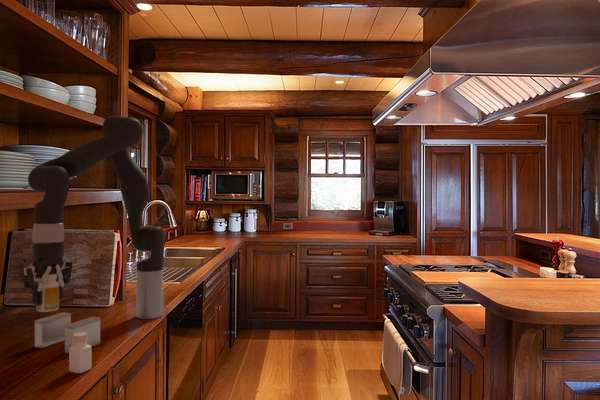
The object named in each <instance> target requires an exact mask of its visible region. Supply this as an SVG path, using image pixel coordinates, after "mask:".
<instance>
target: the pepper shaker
mask: <svg viewBox="0 0 600 400" xmlns="http://www.w3.org/2000/svg"><path fill="white" fill-rule="evenodd" d="M68 355H69V356H68V366H69V367H68V370H69V372H70V373H74V374H79V373H80V374H83V373H85V372H87V371H89V370H91V369H92V347H91V346H90V345H87V333H86V332H80V333H76V334H74V346H73V347H71V348H70V349H69V353H68Z"/></svg>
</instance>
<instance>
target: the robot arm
mask: <svg viewBox="0 0 600 400" xmlns="http://www.w3.org/2000/svg"><path fill="white" fill-rule="evenodd" d="M143 132H144V127H143V125H142V123H141V122H140V120H138V119H137V118H135V117H129V116H121V115H120V116H119V115H109V116H107V117H106V118H105V119H104V120H103V123H102V135H103V137H100V138H97V139H94V140H90V141H86V142H84V143H81V144H79V145H77V146H75V147H74V148H72V149H70V150H69V151H67V152H65V153H64V154H62V155H61V156H58V157H55V158H53V159H51V160H48V161H44V162H43V163H41V164H39V165H37V166H35V167H34V168H33V169H32V170H30V172H29V174H28V178H27V182H28V186H29V187H30V188H31V189H33V190H34V191H36V192H38V193H44V195H43V199H42V200H41V201H37V202H36V203H35V204H34V207H33V229H32V242H31V243H32V244H31V246H32V249H31V250H32V253H31V254H32V259H33V263H32V265H30V266H28V267H22V268H21V274H22V280H23V286H24V289H25V290H27V291H31V292H32V295H31V296H32V300H31V301H32V304H33V305H34V306H36V305H37V306H39V305H42V291H41V290H42V287H43V284H44V283H45V282H46V280H47V277H48V275H50V274H57V279H56V281H58V282H59V302H61V301H62V300H63V297H64V293H63V292H64V286H65V285H66V284H70V281H71V275H72V271H73V262H72V261H66V260H65V261H64V260H63V259H64V258H63V257H65V227H64V215H65V214H64V208H65V204H66V203H67V199H68V198H67V197H68V195H69V191H70V186H71V178H75V177H79V176H80V175H82V174H83V173H84V172H87V171H88V170H89V169H90V168H92V167H93V166H95V165H96V164H98V163H100V162H101V161H103V160H105V159H107V158H109V157H111V160H112V163H113V168H114V170H115V173H116V176H117V180H118V184H119V189H120V193H121V197H122V200H123V203H124V206H125V212H126V216H127V219H128V227H129V233H130V239H131V243H132V244H131V245H132V247H133V248H134V249H135V250H136V251H138V252H150V256H149V257H148V258H146V259H142V260H140V261H138V262H137V263H136V299H135V301H136V309H135V310H136V311H135V312H136V318H137V319H141V320H152V319H153V320H154V319H159V318H160V317H162V316H163V314H165V288H164V285H163V284H164V282H163V281H164V277H163V276H164V271H163V268H164V259H165V242H166V240H165V239H166V236H165V235H166V234H165V231H164V228H163V227H161V226H156V225H155V226H154V225H153V226H151V225H150V226H148V225H144V223H143V219H142V218H143V217H142V216H143V212H144V211H145V209H146V207H147V205H148V203H149V200H150V197H151V191H150V188H149V183H148V179H147V175H146V174H145V173H144V171H143V170H142V168H141V167H140V166H139V164H137V162H136V161H135V160H134V158H133V157H132V155H131V152H130V151H129V148H131V147H133V146H135V145H136V144H139V142H140V141H141V140H142V138H143V134H144V133H143ZM40 278H41V279H40Z"/></svg>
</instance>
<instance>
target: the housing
mask: <svg viewBox="0 0 600 400" xmlns="http://www.w3.org/2000/svg"><path fill="white" fill-rule="evenodd" d="M71 318H72V313H71V312H59V313H56V314H53V315H52V314H51V315H49V316H45V317H42V318H38V319H35V320H34V347H35V348H39V349H44V348H47V347H50V346H53V345H56V344H58V343H60V342H64V353H65V354H69V349H70V348H71V347H73V346H74V334H76V333H80V332H86V333H87V345H90V346H91V348H92V347H95V346H98V345H99V344H101V317H98V316H90V317H87V318H84V319H81V320H77V321H74V322H72V319H71Z"/></svg>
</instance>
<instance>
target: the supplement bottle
mask: <svg viewBox="0 0 600 400" xmlns="http://www.w3.org/2000/svg"><path fill="white" fill-rule="evenodd" d="M39 279H41V278H40V277H39ZM56 279H57V274H50V275H48V277H47V280H46V282H45V283H44V284H43V287H42V290H41V291H42V305H39V306H37V305H35V308H36V311H37V312H39V313H48V312H55V311H57V310H59V308H60V301H59V282H58V281H56Z"/></svg>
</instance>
